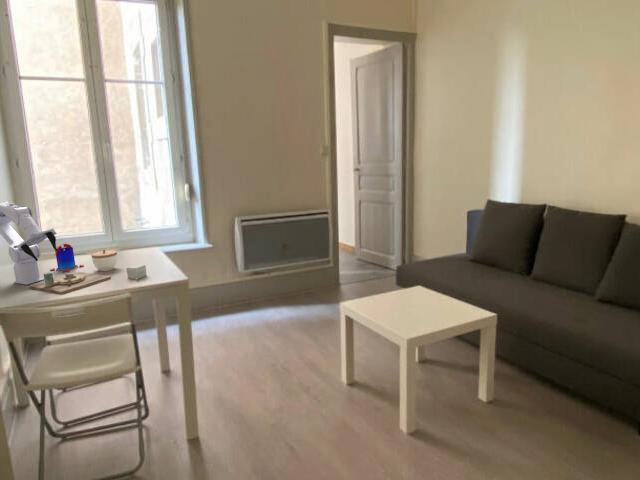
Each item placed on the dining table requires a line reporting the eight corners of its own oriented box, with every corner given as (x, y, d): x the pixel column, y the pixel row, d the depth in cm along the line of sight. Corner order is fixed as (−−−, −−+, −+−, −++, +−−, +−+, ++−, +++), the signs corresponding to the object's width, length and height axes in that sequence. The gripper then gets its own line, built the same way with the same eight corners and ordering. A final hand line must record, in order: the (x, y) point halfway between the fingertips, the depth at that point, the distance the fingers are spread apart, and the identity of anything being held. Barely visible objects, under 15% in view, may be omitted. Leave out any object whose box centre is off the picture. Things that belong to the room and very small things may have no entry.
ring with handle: (77, 275, 199) (75, 263, 198) (89, 278, 192) (88, 267, 191) (40, 284, 187) (38, 272, 186) (51, 288, 180) (49, 276, 179)
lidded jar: (88, 271, 209) (85, 251, 207) (107, 265, 219) (104, 246, 217) (106, 273, 205) (103, 252, 203) (124, 267, 215) (121, 247, 213)
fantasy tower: (65, 273, 208) (61, 247, 206) (46, 271, 212) (42, 246, 210) (86, 266, 219) (83, 241, 217) (68, 264, 223) (64, 240, 221)
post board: (28, 287, 187) (26, 278, 186) (78, 273, 206) (76, 265, 205) (62, 294, 177) (60, 284, 176) (111, 278, 196) (109, 269, 195)
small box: (137, 274, 200) (135, 264, 199) (147, 275, 198) (145, 264, 197) (127, 278, 195) (125, 267, 194) (137, 279, 193) (136, 268, 192)
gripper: (8, 234, 180) (23, 259, 176) (45, 216, 186) (61, 240, 182) (15, 242, 186) (30, 267, 182) (51, 225, 192) (66, 248, 188)
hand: (46, 254), depth 182 cm, fingers open, 7 cm apart
